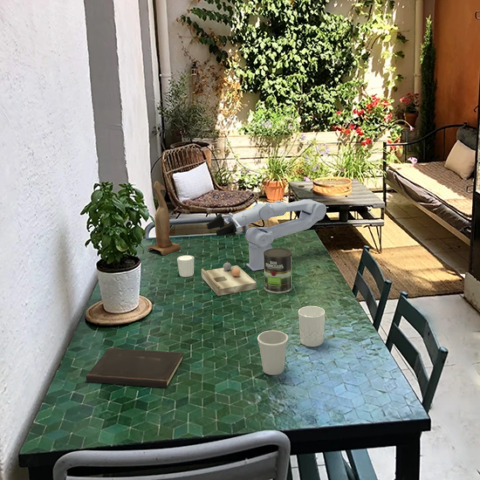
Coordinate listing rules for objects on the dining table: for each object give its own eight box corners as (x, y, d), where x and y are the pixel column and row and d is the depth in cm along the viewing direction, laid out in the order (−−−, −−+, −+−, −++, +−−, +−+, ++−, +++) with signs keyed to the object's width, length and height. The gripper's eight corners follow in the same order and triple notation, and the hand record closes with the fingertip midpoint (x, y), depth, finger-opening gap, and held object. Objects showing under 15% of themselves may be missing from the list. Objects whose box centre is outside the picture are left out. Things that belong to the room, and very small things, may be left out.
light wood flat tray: (237, 271, 234) (237, 263, 233) (256, 288, 216) (256, 279, 215) (201, 277, 229) (201, 269, 228) (218, 295, 211) (217, 286, 210)
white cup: (327, 337, 178) (327, 307, 175) (322, 349, 171) (322, 318, 168) (301, 334, 181) (301, 304, 178) (295, 346, 174) (295, 315, 171)
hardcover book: (109, 354, 174) (109, 347, 174) (184, 359, 170) (183, 352, 169) (86, 383, 159) (85, 376, 159) (167, 389, 155) (166, 382, 154)
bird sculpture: (182, 250, 263) (178, 179, 254) (162, 256, 255) (158, 184, 246) (165, 245, 270) (161, 177, 261) (146, 251, 262) (141, 181, 253)
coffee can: (287, 295, 210) (286, 258, 205) (260, 291, 213) (259, 255, 209) (295, 284, 219) (295, 249, 214) (269, 281, 222) (268, 246, 218)
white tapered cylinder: (194, 277, 230) (193, 260, 228) (177, 277, 230) (175, 261, 228) (195, 270, 236) (194, 254, 234) (179, 271, 237) (177, 255, 234)
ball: (238, 274, 224) (238, 266, 223) (241, 277, 221) (241, 269, 220) (231, 275, 223) (230, 267, 222) (233, 278, 220) (233, 270, 219)
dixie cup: (279, 380, 156) (279, 347, 153) (252, 372, 160) (251, 340, 157) (293, 366, 163) (293, 334, 160) (267, 359, 167) (266, 327, 164)
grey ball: (229, 268, 230) (229, 260, 229) (232, 271, 228) (232, 263, 227) (222, 269, 229) (221, 262, 228) (224, 272, 227) (224, 264, 226)
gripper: (232, 204, 233) (202, 214, 227) (250, 215, 221) (219, 227, 216) (234, 219, 236) (204, 230, 231) (252, 232, 224) (221, 243, 219)
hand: (211, 230), depth 223 cm, fingers open, 7 cm apart
